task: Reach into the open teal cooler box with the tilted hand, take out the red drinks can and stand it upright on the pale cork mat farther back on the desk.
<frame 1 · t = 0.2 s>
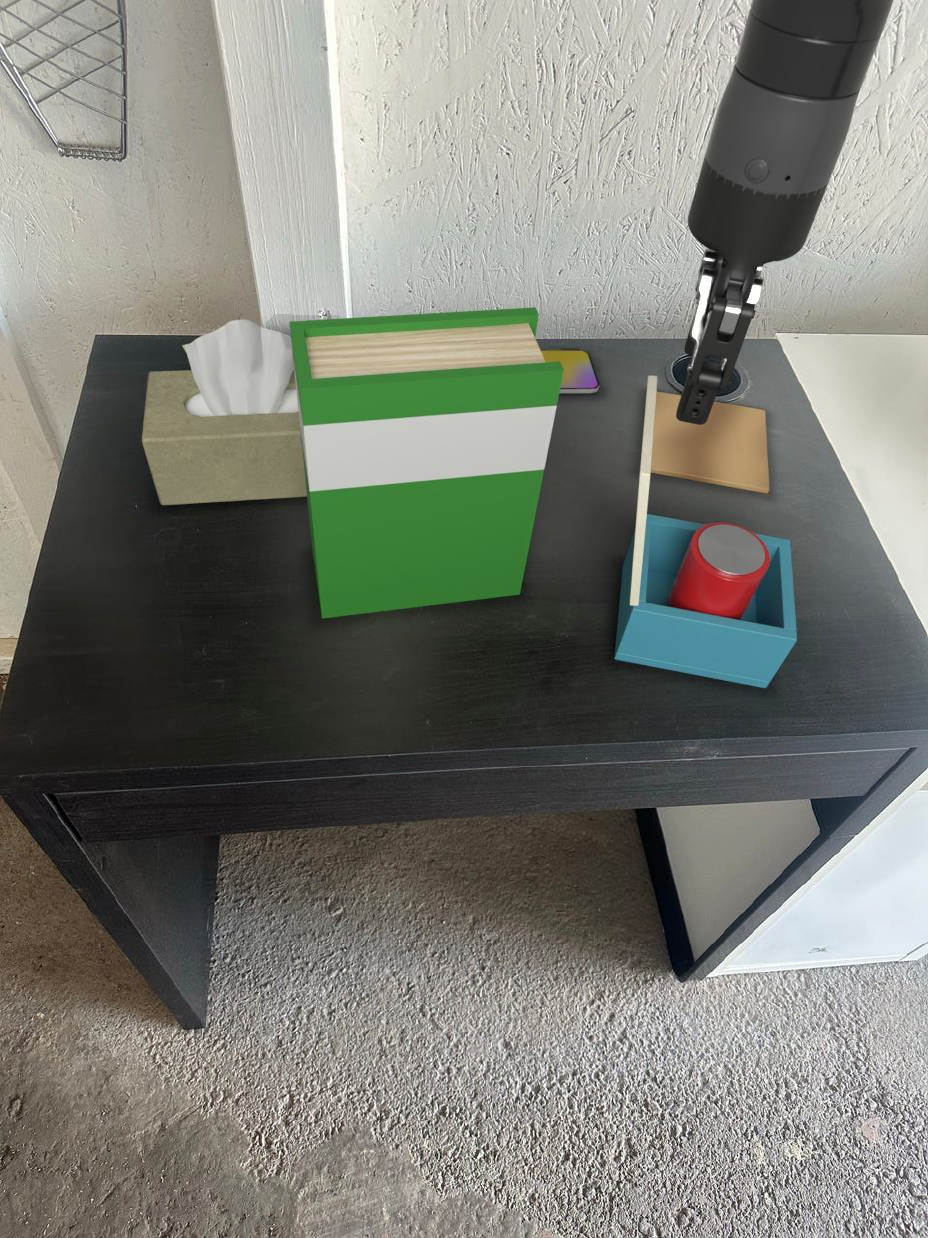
hand: (693, 385, 64), 20 cm above the table, tool pointing down, fingers open, 8 cm apart
tissue box: (259, 467, 84), on the table
cooler lid: (643, 493, 65), point 14 cm above the table, hinge at 100.0°
hardback book: (415, 575, 77), on the table
cooler: (690, 624, 76), on the table
drinks can: (693, 627, 75), point 1 cm above the table, touching cooler
smartphone: (528, 375, 96), on the table
cork mat: (704, 441, 92), on the table
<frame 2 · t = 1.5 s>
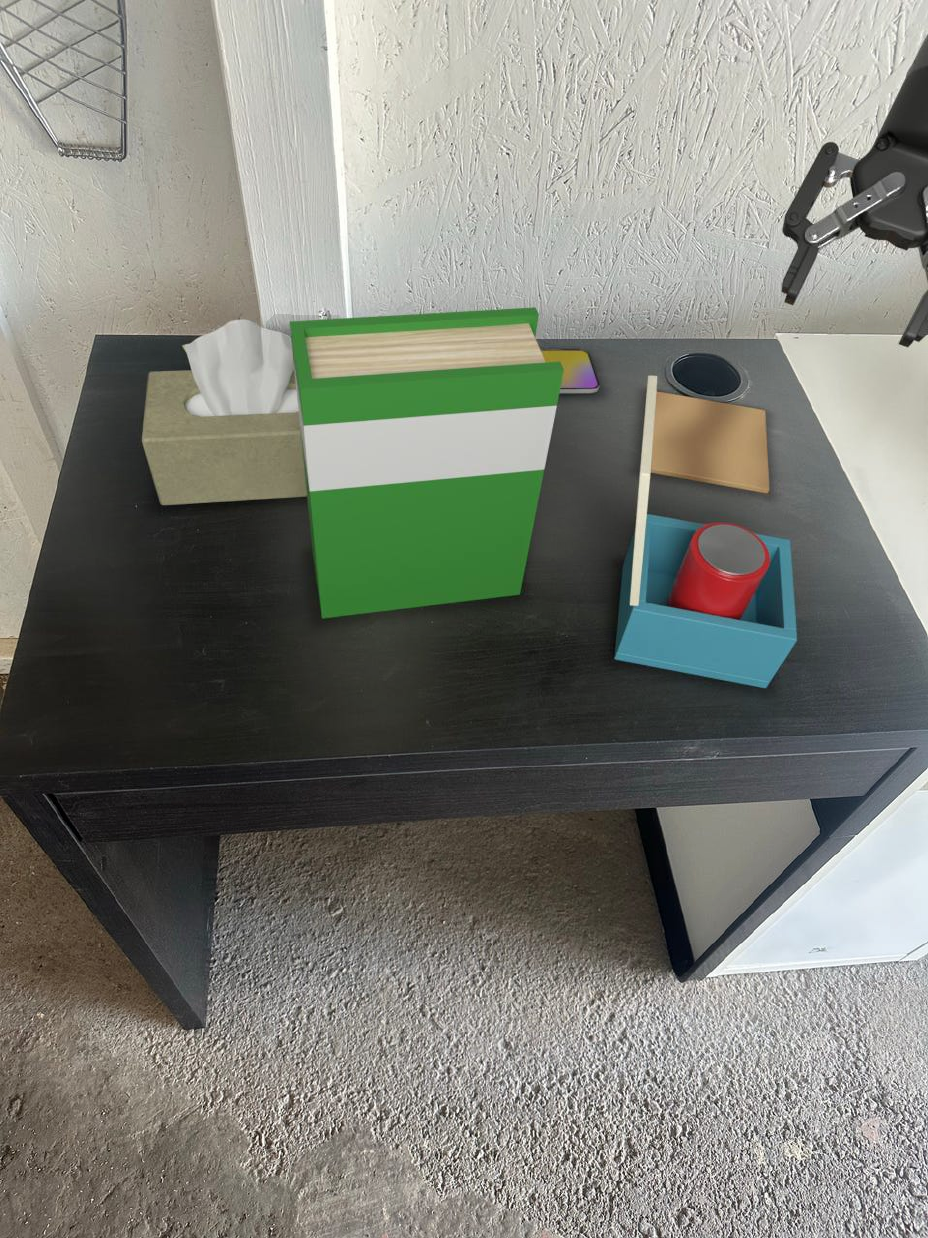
hand: (846, 322, 61), 25 cm above the table, tool tilted 45°, fingers open, 8 cm apart
nothing on the table moved.
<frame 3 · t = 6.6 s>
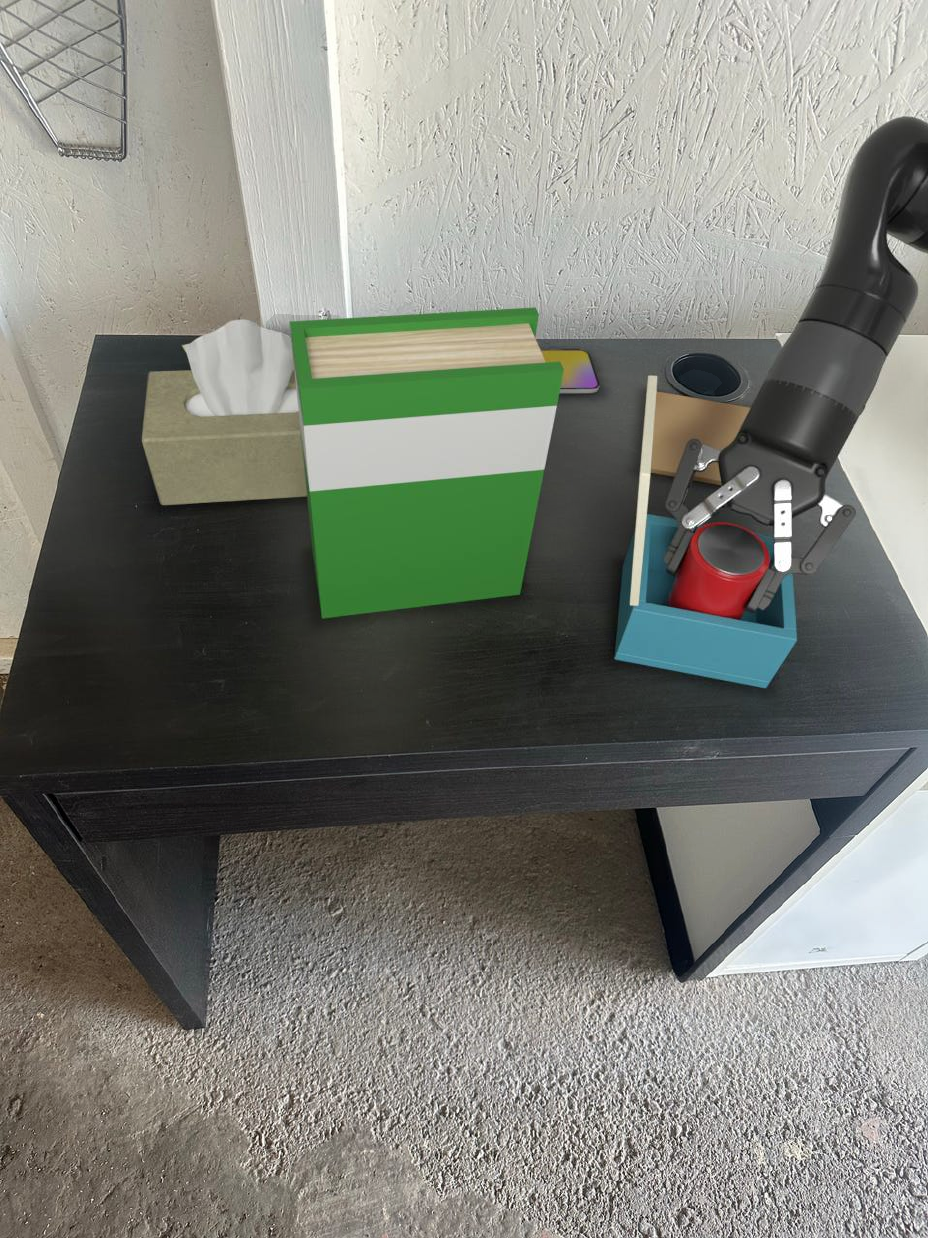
hand: (709, 592, 68), 8 cm above the table, tool tilted 45°, fingers closed on drinks can, 6 cm apart
drinks can: (694, 627, 74), point 1 cm above the table, touching cooler, gripper
everything else where it was.
when the fingers open (7 cm above the table, at t = 17.2 s): drinks can stays where it is, resting on cork mat.
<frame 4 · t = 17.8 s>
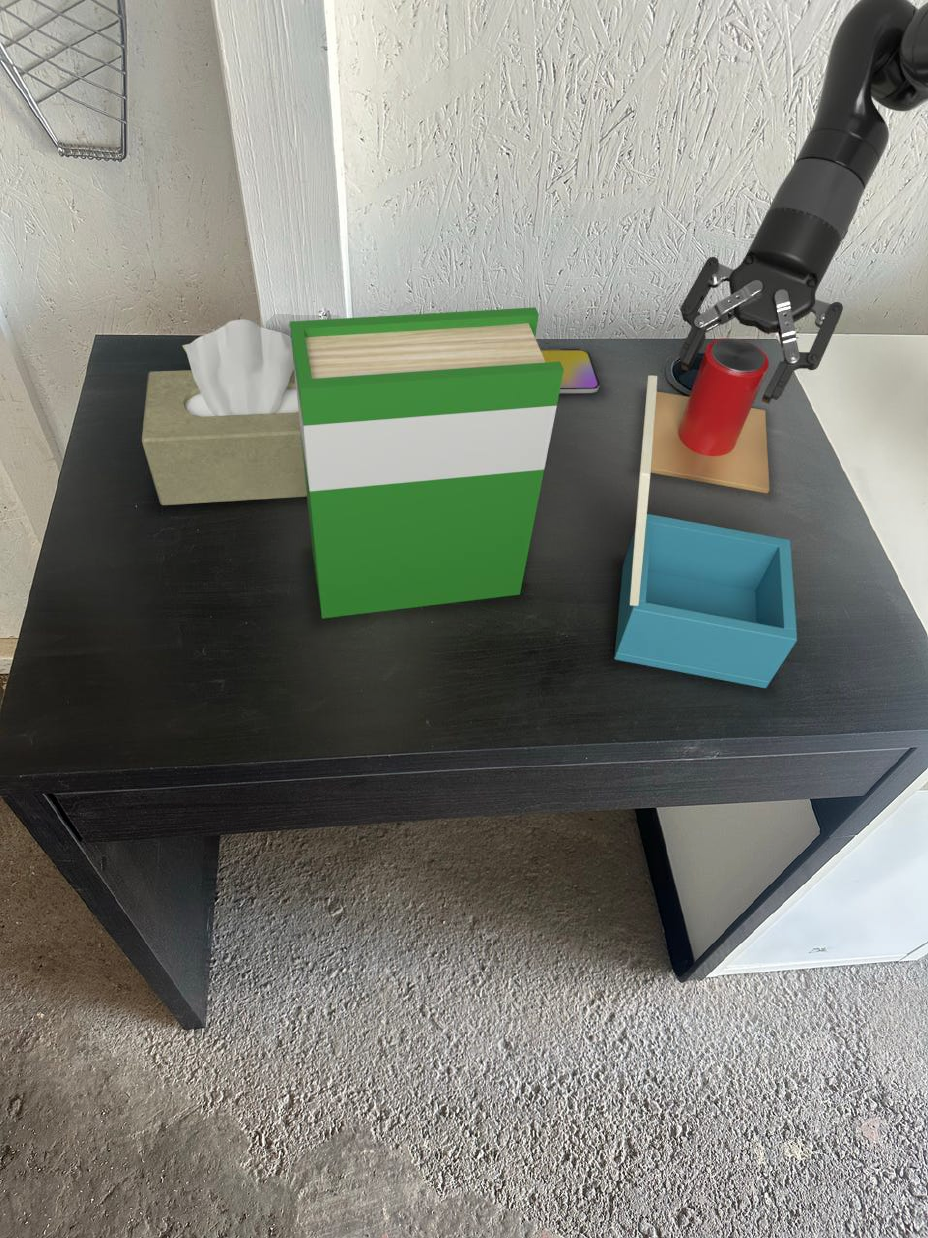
hand: (724, 384, 84), 8 cm above the table, tool tilted 45°, fingers open, 8 cm apart
drinks can: (706, 436, 91), point 1 cm above the table, touching cork mat
everything else where it was.
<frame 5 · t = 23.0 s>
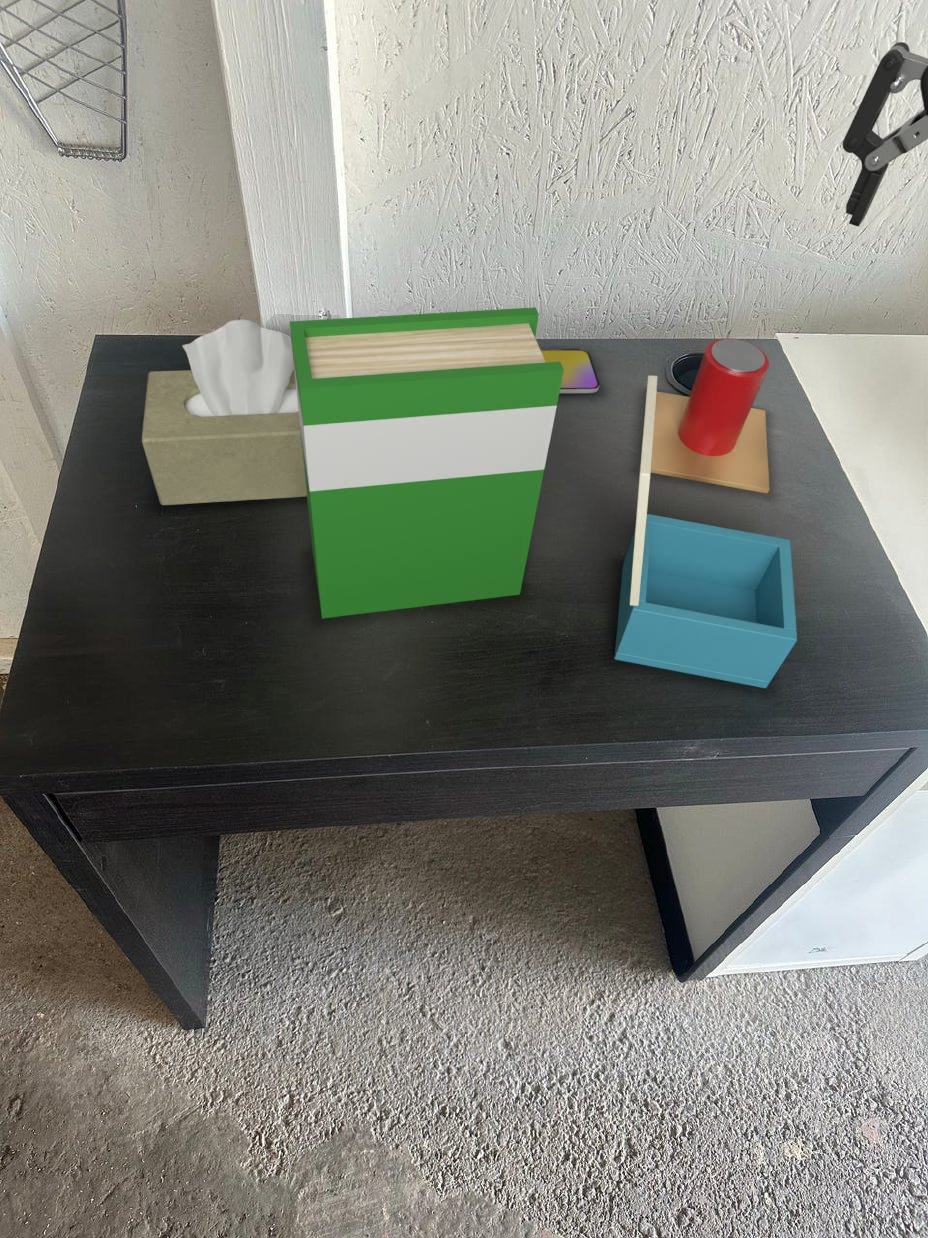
hand: (916, 241, 60), 30 cm above the table, tool pointing down, fingers open, 8 cm apart
nothing on the table moved.
at the end: drinks can inside the target area on the cork mat (0.1 cm from its centre), point 0.6 cm above the cork mat's base; drinks can tilted 0°; the gripper is holding nothing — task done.
